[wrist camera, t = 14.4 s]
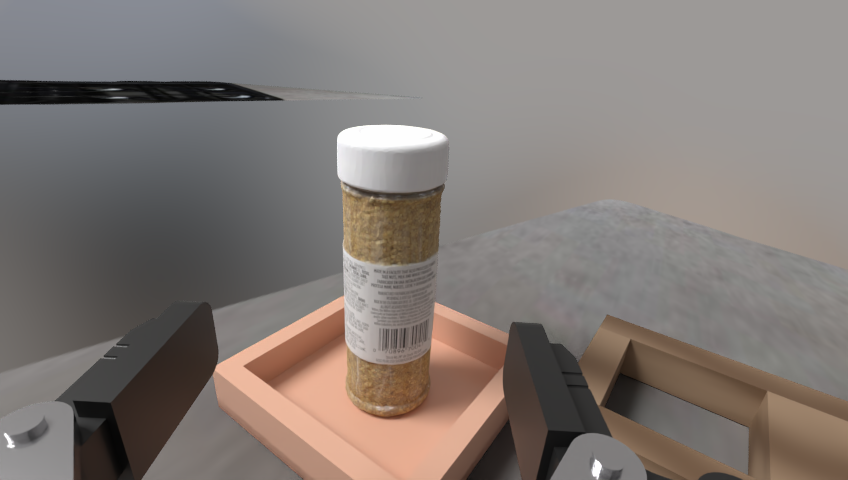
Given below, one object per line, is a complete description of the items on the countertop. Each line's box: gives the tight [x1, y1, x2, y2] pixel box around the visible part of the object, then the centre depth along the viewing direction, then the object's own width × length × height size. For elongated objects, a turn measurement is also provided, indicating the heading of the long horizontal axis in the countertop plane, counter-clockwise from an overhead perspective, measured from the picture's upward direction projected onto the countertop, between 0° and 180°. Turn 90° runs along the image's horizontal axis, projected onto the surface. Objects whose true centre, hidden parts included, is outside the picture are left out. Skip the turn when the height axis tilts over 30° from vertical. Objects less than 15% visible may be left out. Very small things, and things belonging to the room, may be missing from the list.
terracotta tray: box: [213, 296, 509, 480], centre depth 23 cm, size 12×12×2 cm
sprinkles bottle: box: [337, 125, 449, 416], centre depth 20 cm, size 5×5×13 cm
